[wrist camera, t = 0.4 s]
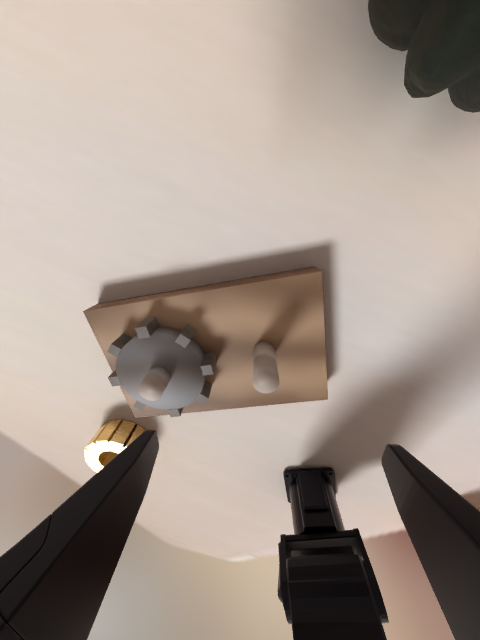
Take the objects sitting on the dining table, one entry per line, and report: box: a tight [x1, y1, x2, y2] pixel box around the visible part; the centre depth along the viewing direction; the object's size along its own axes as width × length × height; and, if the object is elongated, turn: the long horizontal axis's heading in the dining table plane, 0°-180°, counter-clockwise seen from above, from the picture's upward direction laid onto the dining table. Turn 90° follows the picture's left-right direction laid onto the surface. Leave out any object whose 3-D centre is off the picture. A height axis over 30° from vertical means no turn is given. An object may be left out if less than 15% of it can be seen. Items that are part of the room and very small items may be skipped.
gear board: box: [83, 267, 328, 418], centre depth 20 cm, size 13×21×6 cm, turn 101°
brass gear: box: [84, 420, 146, 473], centre depth 29 cm, size 7×7×3 cm
